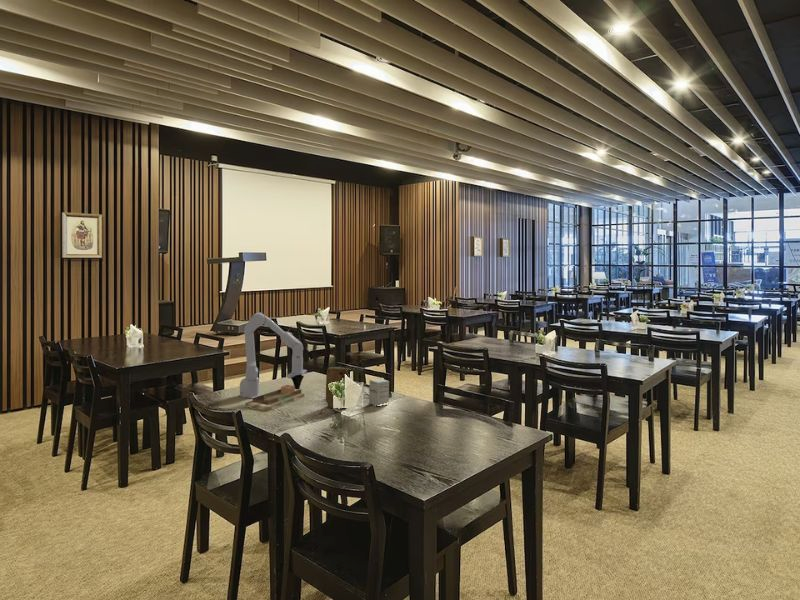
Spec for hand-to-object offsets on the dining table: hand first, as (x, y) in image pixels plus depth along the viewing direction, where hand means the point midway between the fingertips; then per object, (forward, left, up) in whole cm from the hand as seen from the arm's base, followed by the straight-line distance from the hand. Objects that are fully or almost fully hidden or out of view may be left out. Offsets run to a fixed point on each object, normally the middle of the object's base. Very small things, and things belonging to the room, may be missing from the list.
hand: (297, 389), depth 274 cm
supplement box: (+47, +5, -3) cm, 47 cm away
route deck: (0, -18, -3) cm, 18 cm away
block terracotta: (0, -8, -1) cm, 8 cm away
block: (+32, -10, -3) cm, 34 cm away
